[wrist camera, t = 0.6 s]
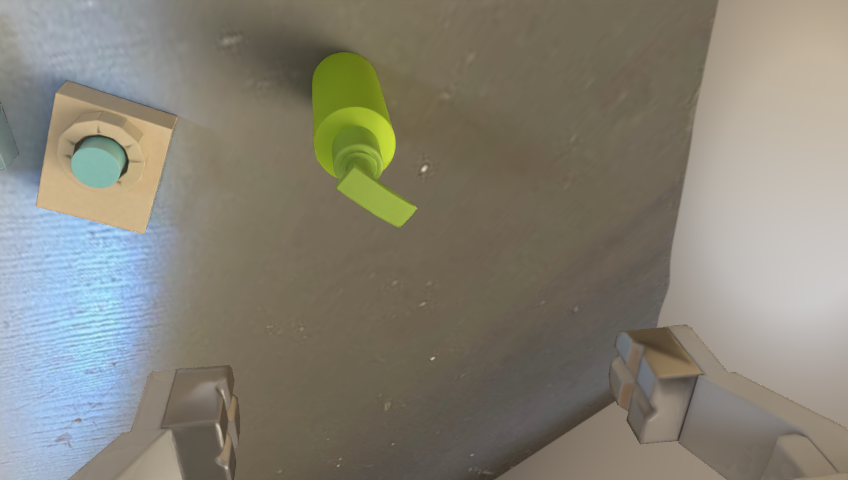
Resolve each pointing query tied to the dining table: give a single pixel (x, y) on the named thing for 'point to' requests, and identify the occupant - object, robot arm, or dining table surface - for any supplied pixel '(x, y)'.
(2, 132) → the switch panel
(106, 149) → the teal short cylinder
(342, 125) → the soap dispenser
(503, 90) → the dining table surface
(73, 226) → the dining table surface
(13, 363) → the dining table surface
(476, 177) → the dining table surface
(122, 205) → the beige nut base
